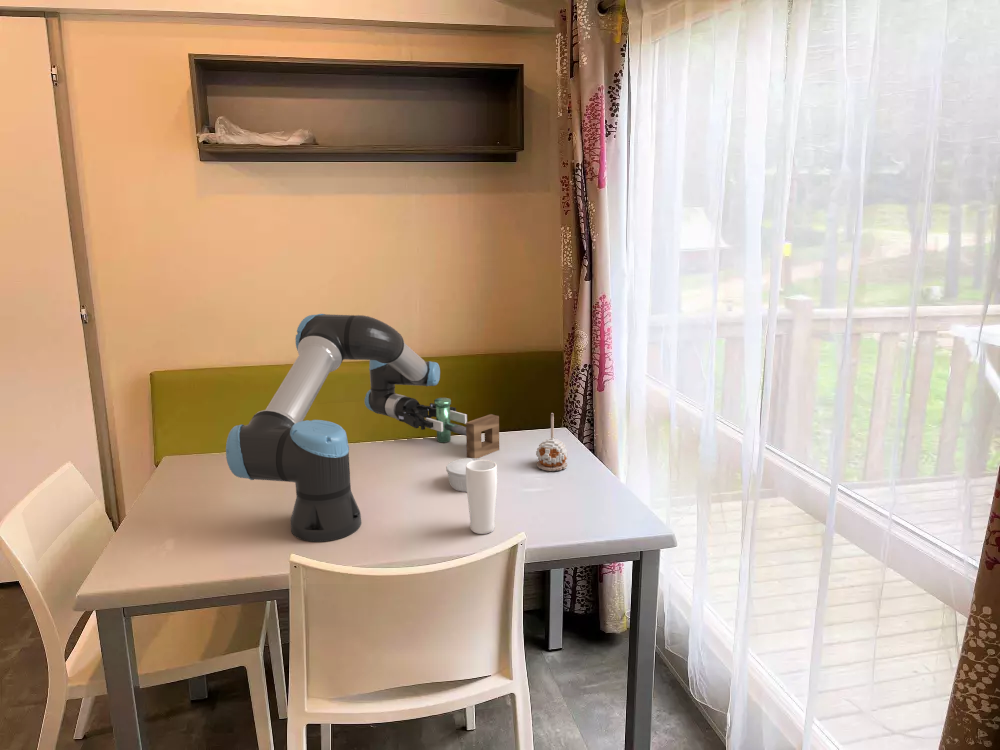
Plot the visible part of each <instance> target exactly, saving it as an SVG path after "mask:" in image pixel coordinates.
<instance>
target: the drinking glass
mask: <svg viewBox="0 0 1000 750" xmlns="http://www.w3.org/2000/svg"><path fill="white" fill-rule="evenodd" d="M466 488H467V492H466V494H467V504H468V514H469V522H470V523H469V525H470V526H469V528H470V530H471V531H472V532H473V533H474V534H478V535H486V534H490V533H491V532H493V531H494V530H495V528H496V508H497V493H498V466H497V463H496V462H495V461H493V460H489V459H481V460H475V461H471V462H469V463H467V464H466Z"/></svg>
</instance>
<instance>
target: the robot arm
mask: <svg viewBox="0 0 1000 750" xmlns="http://www.w3.org/2000/svg"><path fill="white" fill-rule="evenodd" d="M296 332H297V333H296V334H295V339H294V340H295V348H296V350H297V351H296V352H297V353H298V356H297V358H296V359H295V361H294V362H293V365H291V367H290V369H289V371H288V372H287V374H286V375H285V377H284V379H283V380H282V382H281V383H280V386H279V387H278V388H277V390H276V392H275V393H274V395H273V397H272V398H271V400H270V402H269V403H268V405H267V407H266V408H265V409H263V410H260V411H257V412H256V413H255V414H254V415H253V416H252V418H251V419H250V420H249V423H248V424H239V425H235V426H233V427H232V428H231V430H230V431H229V432H228V435H227V438H226V443H225V444H226V445H225V459H226V462H227V465H228V468H229V470H230V472H231V473H232V474H233V475H234V476H236V477H237V478H241V479H249V480H250V481H255V480H256V481H274V482H287V483H288V482H289V483H295V484H294V485H295V494H296V496H295V501H294V506H293V510H292V514H291V517H290V531H291V534H292V535H293V536H294V537H296V538H297V539H298V540H302V541H305V542H316V543H317V542H331V541H335V540H338V539H342V538H346V537H348V536H350V535H352V534H353V533H355V532H356V531H358V529H360V527H361V525H362V514H361V511H360V509H359V506H358V504H357V501H356V499H355V497H354V495H353V493H352V489H351V488H352V487H351V486H352V485H351V472H350V471H351V470H350V457H349V456H350V455H349V453H350V451H349V450H350V447H349V442H348V436H347V431H346V430H345V429H344V428H343V427H342V426H341V425H340V424H337V423H335V422H332V421H329V420H322V419H312V420H308V419H307V420H304V419H305V418H306V416H307V413H309V410H310V408H311V406H312V405H313V403H314V401H315V399H316V397H317V395H318V394H319V392H320V390H321V389H322V386H323V385H324V383H325V381H326V379H327V377H328V375H329V374H330V373H332V372H335V371H336V370H337V369H339V367H340V366H341V364H342V362H343V361H344V360H349V361H351V360H353V361H355V360H356V361H358V360H359V361H360V360H362V361H369V368H368V370H369V381H370V383H369V384H370V389H369V390H368V391H367V392H366V394H365V397H364V405H365V407H366V408H367V409H368V411H372V412H373V413H375V414H378V415H383V416H387V417H389V418H393V419H396V420H397V421H398V422H400V423H401V422H402V423H404V424H406V425H408V426H410V427H413V428H414V429H419V427H420V430H422V431H423V430H424V431H425V430H426V428H428V429H431V430H435V431H436V432H437V431H440V432H442V431H443V422H441V421H437V420H436V419H435V418H436V406H435V404H434V402H432V403H429V405H424V404H420V403H419V401H418V400H417V399H416V398H413V397H410V396H406V395H403V394H400V393H399V394H398V393H396V392H395V391H396V390H395V389H396V385H401V386H418V387H419V386H421V387H422V386H423V387H435V386H437V385H438V384H439V381H440V379H441V368H440V365H439V363H438V362H435V361H431V360H430V361H429V360H428V361H426V360H424V358H422V357H421V356H420V355H418V353H416V352H415V351H414V350H413V349H412V347H410V346H409V345H407V344H406V343H405V341H404V337H403V336H402V334H401V333H400V332H398V330H396V329H395V328H394V327H392V326H391V325H389V324H387V323H385V322H384V321H381V320H379V319H378V318H375V317H373V316H372V317H371V316H369V315H363V314H362V315H359V314H356V315H354V314H351V315H350V314H348V315H347V314H327V313H318V314H310V315H306V316H305V317H304V318H302V319H301V321H300V323H299V325H298V326H297V330H296ZM450 421H454V422H457V423H461V424H464V425H466V422H468V414H466V413H463V412H458V411H457V408H456V407H454V406H450Z"/></svg>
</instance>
